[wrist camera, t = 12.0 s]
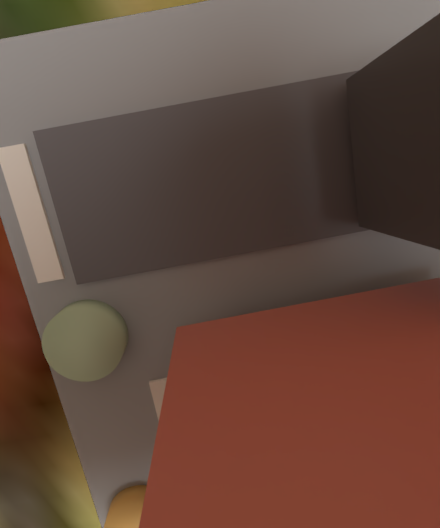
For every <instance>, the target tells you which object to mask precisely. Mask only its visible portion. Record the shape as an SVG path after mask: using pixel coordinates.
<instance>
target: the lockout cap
mask: <svg viewBox="0 0 440 528" xmlns="http://www.w3.org/2000/svg"><path fill="white" fill-rule="evenodd" d="M139 528H440V278H434V279H429V280H424V281H418V282H413V283H408V284H403V285H397V286H392V287H387V288H381V289H376V290H371V291H365V292H360V293H355V294H350V295H344V296H339V297H334V298H328V299H323V300H318V301H312V302H307V303H302V304H296V305H291V306H286V307H281V308H275V309H270V310H265V311H259V312H254V313H249V314H243V315H238V316H233V317H227V318H222V319H217V320H212V321H206V322H201V323H196V324H190V325H185V326H180V327H177V328H176V333H175V338H174V344H173V349H172V354H171V359H170V365H169V370H168V375H167V381H166V386H165V391H164V397H163V402H162V407H161V412H160V418H159V423H158V428H157V434H156V439H155V444H154V450H153V455H152V460H151V465H150V471H149V476H148V481H147V487H146V492H145V497H144V503H143V508H142V513H141V518H140V524H139Z"/></svg>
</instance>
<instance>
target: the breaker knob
mask: <svg viewBox="0 0 440 528" xmlns="http://www.w3.org/2000/svg"><path fill="white" fill-rule="evenodd" d="M346 86H347V97H348V108H349V119H350V130H351V142H352V153H353V164H354V175H355V186H356V197H357V208H358V220H359V227H363V228H366V229H370V230H373V231H376V232H380V233H383V234H387V235H390V236H394V237H397V238H400V239H404V240H407V241H411V242H414V243H418V244H421V245H424V246H428V247H431V248H435V249H438V250H440V13H439V14H438V15H436V16H435V17H433V18H432V19H431V20H429V21H428V22H426V23H425V24H424V25H422V26H421V27H419V28H418V29H417V30H415V31H414V32H412V33H411V34H410V35H408V36H407V37H405V38H404V39H403V40H401V41H400V42H398V43H397V44H396V45H394V46H393V47H391V48H390V49H389V50H387V51H386V52H384V53H383V54H382V55H380V56H379V57H377V58H376V59H374V60H373V61H372V62H370V63H369V64H367V65H366V66H365V67H363V68H362V69H360V70H359V71H358V72H356V73H355V74H353V75H352V76H351V77H349V78H348V79H346Z"/></svg>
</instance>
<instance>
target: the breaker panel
mask: <svg viewBox="0 0 440 528" xmlns="http://www.w3.org/2000/svg"><path fill="white" fill-rule="evenodd" d="M439 13H440V0H209V1H203V2H198V3H193V4H187V5H182V6H177V7H171V8H166V9H160V10H155V11H150V12H144V13H139V14H133V15H128V16H123V17H117V18H112V19H107V20H101V21H96V22H90V23H85V24H80V25H74V26H69V27H64V28H58V29H53V30H47V31H42V32H37V33H31V34H26V35H21V36H15V37H10V38H4V39H0V216H1V219H2V223H3V226H4V229H5V232H6V235H7V238H8V241H9V244H10V247H11V250H12V253H13V256H14V259H15V262H16V266H17V269H18V272H19V275H20V278H21V281H22V284H23V287H24V290H25V293H26V296H27V299H28V302H29V305H30V308H31V312H32V315H33V318H34V321H35V324H36V327H37V330H38V333H39V336H40V339H41V342H42V350H43V354H44V356H45V358H46V360H47V362H48V364H49V367H50V370H51V373H52V376H53V379H54V382H55V385H56V388H57V391H58V394H59V397H60V401H61V404H62V407H63V410H64V413H65V416H66V419H67V422H68V425H69V428H70V431H71V434H72V437H73V440H74V443H75V447H76V450H77V453H78V456H79V459H80V462H81V465H82V468H83V471H84V474H85V477H86V480H87V483H88V486H89V489H90V493H91V496H92V499H93V502H94V505H95V508H96V511H97V514H98V517H99V520H100V523H101V526H102V528H139V524H140V518H141V513H142V508H143V503H144V497H145V492H146V487H147V481H148V476H149V471H150V465H151V460H152V455H153V450H154V444H155V439H156V434H157V428H158V423H159V418H160V412H161V407H162V402H163V397H164V391H165V386H166V381H167V375H168V370H169V365H170V359H171V354H172V349H173V344H174V338H175V333H176V328H177V327H180V326H185V325H190V324H196V323H201V322H206V321H212V320H217V319H222V318H227V317H233V316H238V315H243V314H249V313H254V312H259V311H265V310H270V309H275V308H281V307H286V306H291V305H296V304H302V303H307V302H312V301H318V300H323V299H328V298H334V297H339V296H344V295H350V294H355V293H360V292H365V291H371V290H376V289H381V288H387V287H392V286H397V285H403V284H408V283H413V282H418V281H424V280H429V279H434V278H440V250H438V249H435V248H431V247H428V246H424V245H421V244H418V243H414V242H411V241H407V240H404V239H400V238H397V237H394V236H390V235H387V234H383V233H380V232H376V231H373V230H370V229H366V228H363V227H359V220H358V208H357V197H356V186H355V175H354V164H353V153H352V142H351V130H350V119H349V108H348V97H347V86H346V79H348V78H349V77H351V76H352V75H353V74H355V73H356V72H358V71H359V70H360V69H362V68H363V67H365V66H366V65H367V64H369V63H370V62H372V61H373V60H374V59H376V58H377V57H379V56H380V55H382V54H383V53H384V52H386V51H387V50H389V49H390V48H391V47H393V46H394V45H396V44H397V43H398V42H400V41H401V40H403V39H404V38H405V37H407V36H408V35H410V34H411V33H412V32H414V31H415V30H417V29H418V28H419V27H421V26H422V25H424V24H425V23H426V22H428V21H429V20H431V19H432V18H433V17H435V16H436V15H438V14H439Z"/></svg>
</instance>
